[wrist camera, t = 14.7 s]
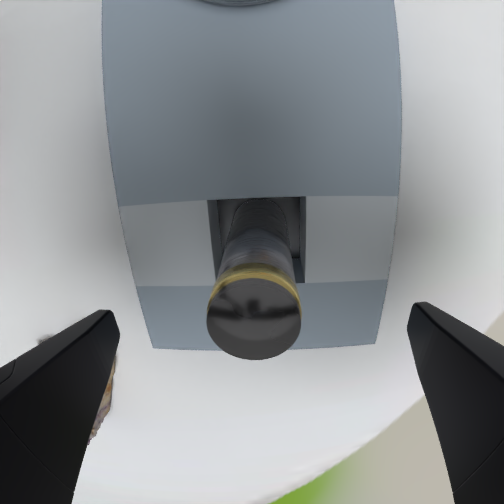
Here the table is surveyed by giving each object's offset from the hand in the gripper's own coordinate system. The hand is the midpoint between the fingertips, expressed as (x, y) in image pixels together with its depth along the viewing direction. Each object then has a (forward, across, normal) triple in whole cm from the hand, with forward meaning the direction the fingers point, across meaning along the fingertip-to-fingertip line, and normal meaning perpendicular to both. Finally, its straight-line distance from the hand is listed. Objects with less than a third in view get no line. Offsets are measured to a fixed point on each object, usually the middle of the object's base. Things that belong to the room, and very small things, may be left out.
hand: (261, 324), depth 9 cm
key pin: (+8, 0, 0) cm, 8 cm away
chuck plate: (+8, 0, -7) cm, 11 cm away
